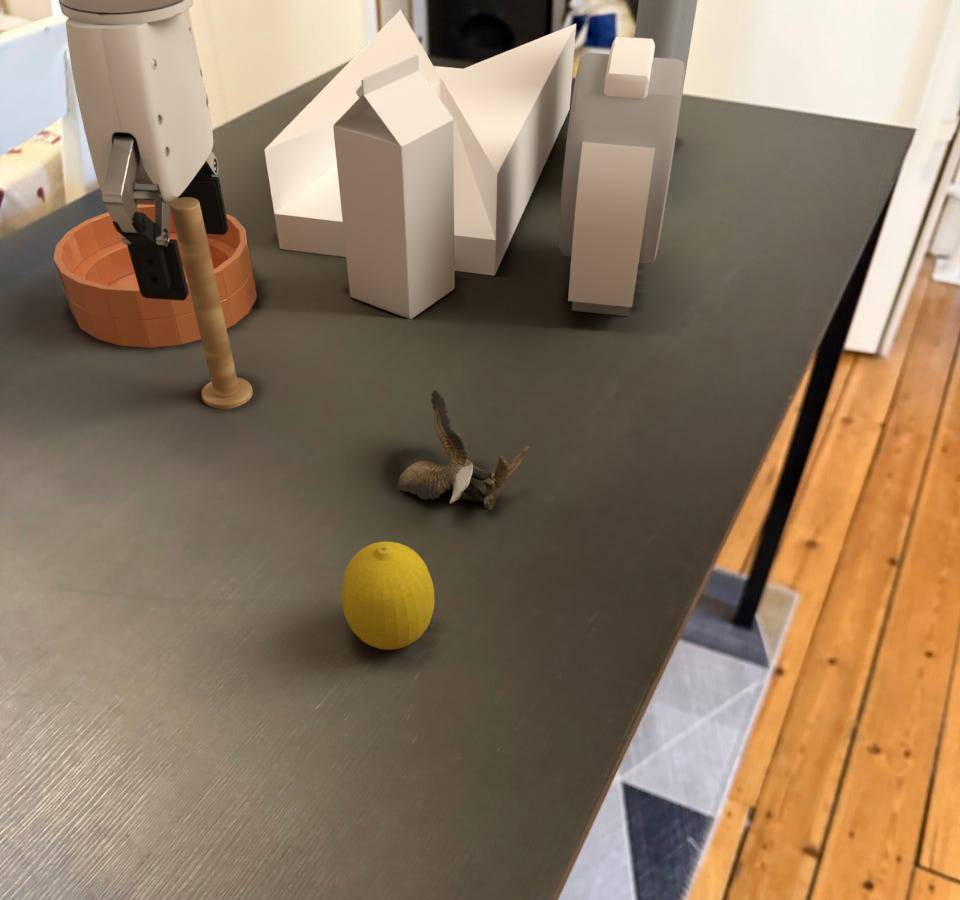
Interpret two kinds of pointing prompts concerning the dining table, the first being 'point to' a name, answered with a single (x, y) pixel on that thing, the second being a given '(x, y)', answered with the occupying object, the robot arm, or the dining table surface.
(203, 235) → the stick
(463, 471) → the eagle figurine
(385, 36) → the building model
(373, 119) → the milk carton
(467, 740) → the dining table surface
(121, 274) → the bowl
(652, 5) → the flask
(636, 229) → the grey boxy piece
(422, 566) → the lemon
